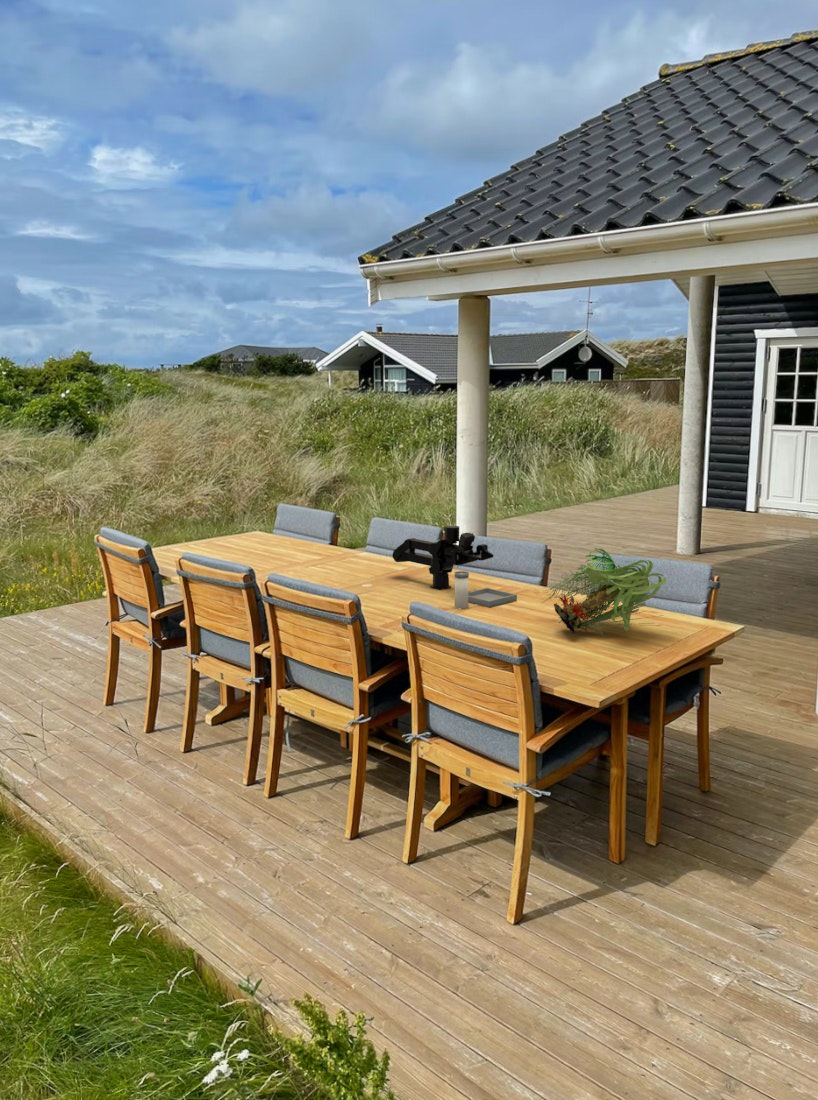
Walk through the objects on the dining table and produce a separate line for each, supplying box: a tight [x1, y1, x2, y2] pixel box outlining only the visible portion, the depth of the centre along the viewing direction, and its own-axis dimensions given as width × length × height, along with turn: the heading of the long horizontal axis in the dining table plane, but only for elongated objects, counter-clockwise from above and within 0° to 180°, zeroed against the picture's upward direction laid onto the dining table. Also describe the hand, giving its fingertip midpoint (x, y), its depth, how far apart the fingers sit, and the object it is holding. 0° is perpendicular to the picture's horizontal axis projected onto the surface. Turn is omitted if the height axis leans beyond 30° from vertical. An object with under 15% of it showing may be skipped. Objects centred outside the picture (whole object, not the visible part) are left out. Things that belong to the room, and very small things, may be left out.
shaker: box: [454, 570, 470, 610], centre depth 331 cm, size 5×5×14 cm
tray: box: [468, 587, 518, 609], centre depth 342 cm, size 16×16×2 cm
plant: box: [534, 548, 667, 636], centre depth 294 cm, size 35×35×40 cm
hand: (485, 557), depth 343 cm, fingers open, 9 cm apart
